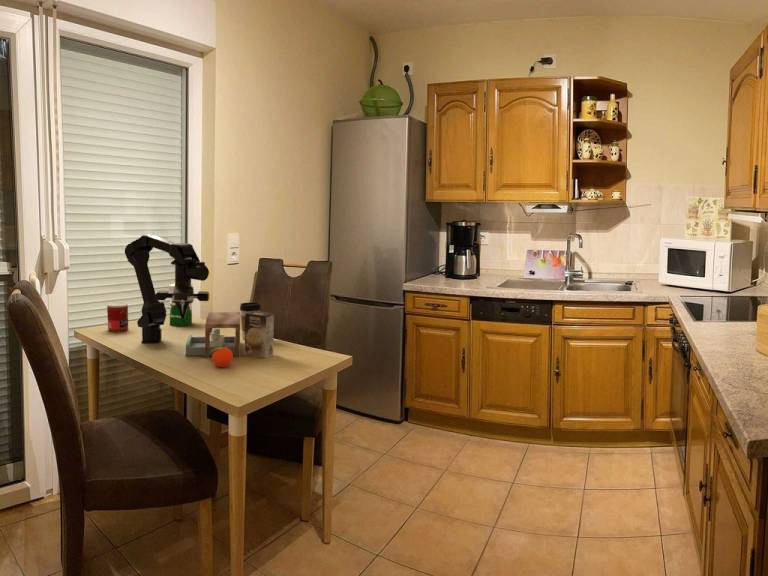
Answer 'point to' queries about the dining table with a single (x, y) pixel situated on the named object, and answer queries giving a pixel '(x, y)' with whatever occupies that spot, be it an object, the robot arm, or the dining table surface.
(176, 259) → the robot arm
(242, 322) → the black lidded jar
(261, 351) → the coffee box
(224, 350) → the clementine
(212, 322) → the wooden stand
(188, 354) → the drawer
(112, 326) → the canned food
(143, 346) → the dining table surface
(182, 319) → the milk carton
